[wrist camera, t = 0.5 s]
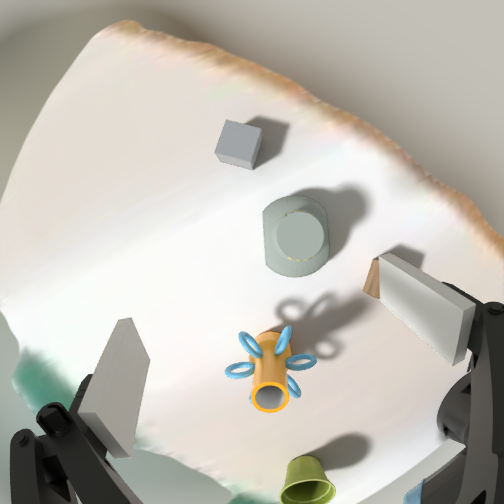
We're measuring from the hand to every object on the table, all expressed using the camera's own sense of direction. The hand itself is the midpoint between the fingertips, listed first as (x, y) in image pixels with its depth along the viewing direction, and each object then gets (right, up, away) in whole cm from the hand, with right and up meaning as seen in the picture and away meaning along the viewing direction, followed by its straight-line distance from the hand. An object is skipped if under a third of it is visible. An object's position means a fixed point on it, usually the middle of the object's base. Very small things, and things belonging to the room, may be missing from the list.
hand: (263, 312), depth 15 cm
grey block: (-2, +18, +28) cm, 34 cm away
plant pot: (+9, -37, +30) cm, 48 cm away
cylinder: (+2, -12, +29) cm, 32 cm away
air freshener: (+5, +5, +29) cm, 30 cm away
